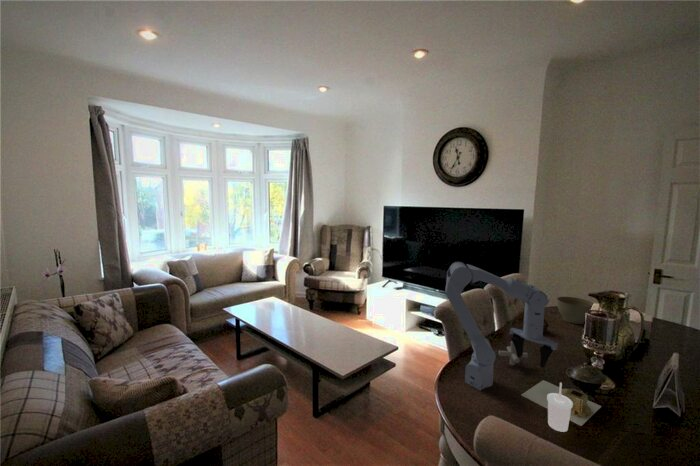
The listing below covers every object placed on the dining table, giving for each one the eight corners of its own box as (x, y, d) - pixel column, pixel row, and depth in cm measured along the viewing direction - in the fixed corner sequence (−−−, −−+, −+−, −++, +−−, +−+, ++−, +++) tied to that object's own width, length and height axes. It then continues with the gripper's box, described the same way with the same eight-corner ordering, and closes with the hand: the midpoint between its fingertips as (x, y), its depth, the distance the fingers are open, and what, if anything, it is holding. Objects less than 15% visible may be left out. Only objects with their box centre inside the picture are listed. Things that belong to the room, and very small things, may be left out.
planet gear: (584, 420, 91) (585, 404, 90) (557, 406, 97) (558, 391, 96) (594, 411, 95) (595, 395, 94) (567, 398, 101) (568, 383, 100)
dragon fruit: (549, 338, 149) (522, 333, 158) (553, 324, 153) (527, 320, 162) (543, 327, 146) (517, 322, 155) (548, 312, 150) (522, 309, 159)
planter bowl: (599, 328, 156) (601, 307, 155) (563, 325, 160) (564, 305, 159) (583, 316, 172) (585, 297, 170) (550, 314, 175) (552, 295, 174)
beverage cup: (546, 418, 93) (550, 374, 92) (571, 428, 89) (575, 382, 88) (542, 429, 89) (546, 383, 87) (569, 440, 85) (572, 392, 83)
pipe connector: (530, 374, 116) (532, 349, 115) (501, 372, 118) (503, 346, 117) (521, 361, 126) (523, 337, 124) (495, 358, 128) (496, 335, 126)
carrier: (580, 429, 89) (582, 416, 88) (520, 397, 103) (521, 386, 102) (601, 409, 97) (602, 397, 96) (543, 382, 111) (543, 372, 110)
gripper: (563, 327, 101) (560, 367, 103) (518, 314, 113) (516, 349, 115) (552, 333, 97) (549, 374, 99) (507, 318, 109) (505, 355, 111)
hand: (531, 361), depth 106 cm, fingers open, 7 cm apart
